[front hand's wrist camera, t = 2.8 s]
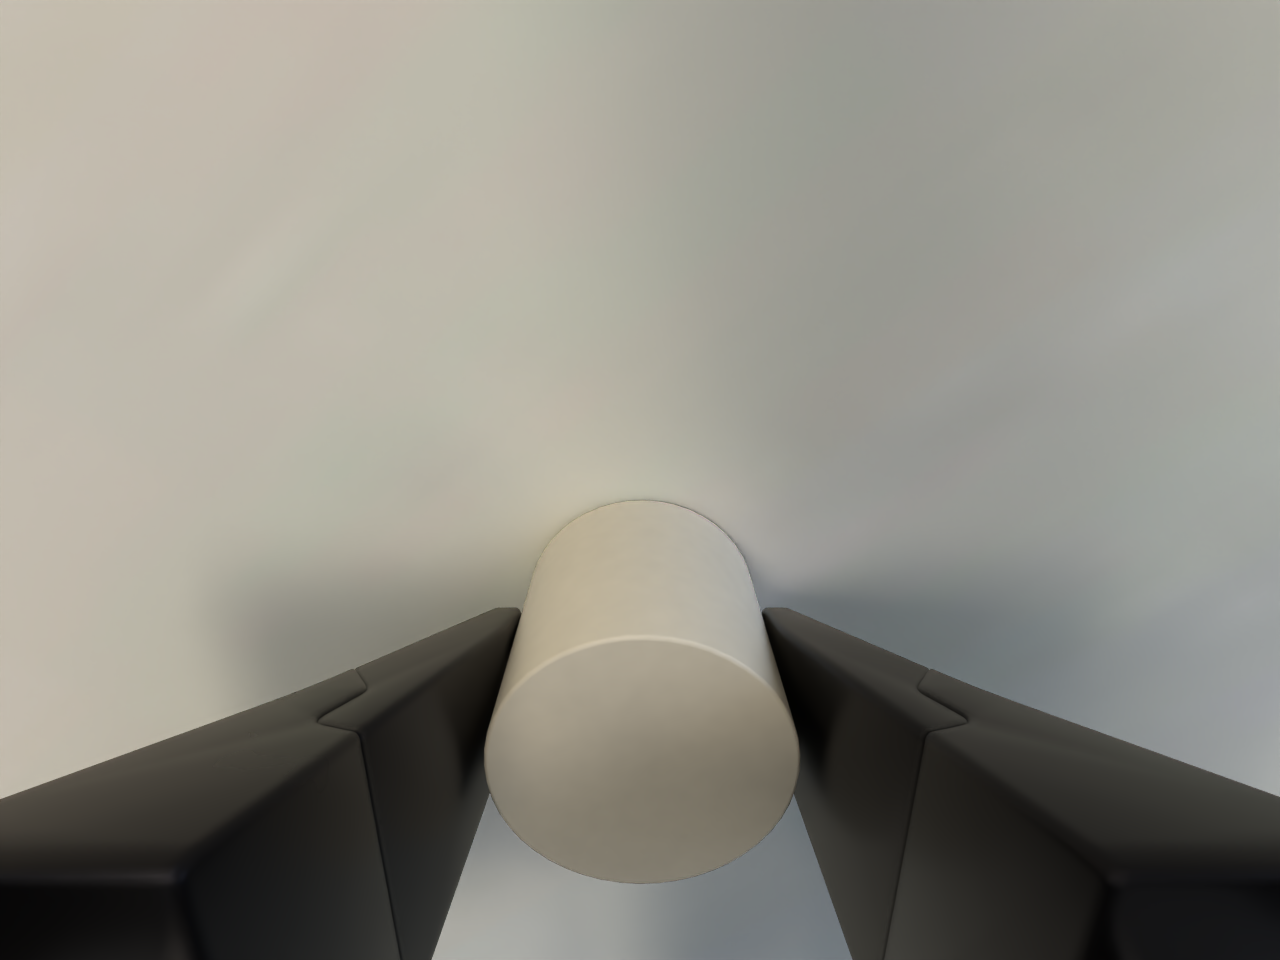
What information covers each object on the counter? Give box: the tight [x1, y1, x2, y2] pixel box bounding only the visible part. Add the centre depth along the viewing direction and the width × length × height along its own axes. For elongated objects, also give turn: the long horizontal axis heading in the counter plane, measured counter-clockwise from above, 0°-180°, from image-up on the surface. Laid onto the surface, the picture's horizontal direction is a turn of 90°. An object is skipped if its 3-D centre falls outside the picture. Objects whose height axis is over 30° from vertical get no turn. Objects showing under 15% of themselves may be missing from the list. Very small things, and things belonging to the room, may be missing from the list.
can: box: [484, 500, 800, 884], centre depth 11 cm, size 4×4×4 cm
